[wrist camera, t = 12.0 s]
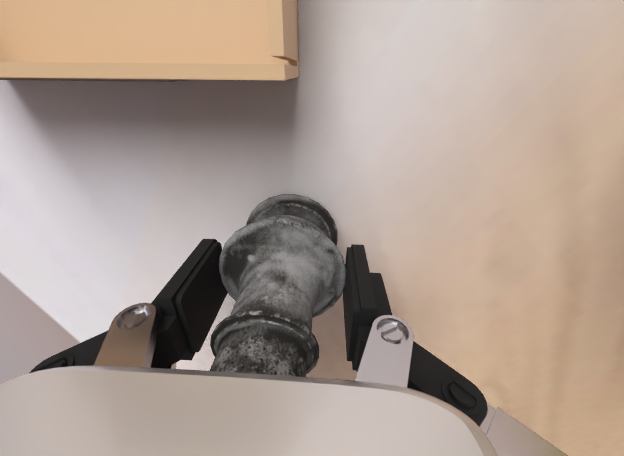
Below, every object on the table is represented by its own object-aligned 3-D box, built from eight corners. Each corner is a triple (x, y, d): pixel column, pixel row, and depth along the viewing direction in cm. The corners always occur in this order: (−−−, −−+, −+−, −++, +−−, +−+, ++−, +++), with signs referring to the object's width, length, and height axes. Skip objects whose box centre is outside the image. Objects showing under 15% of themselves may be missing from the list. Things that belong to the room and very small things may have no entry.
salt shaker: (347, 271, 16) (383, 618, 6) (256, 280, 17) (139, 603, 6) (336, 181, 13) (364, 533, 3) (227, 196, 14) (-58, 521, 4)
